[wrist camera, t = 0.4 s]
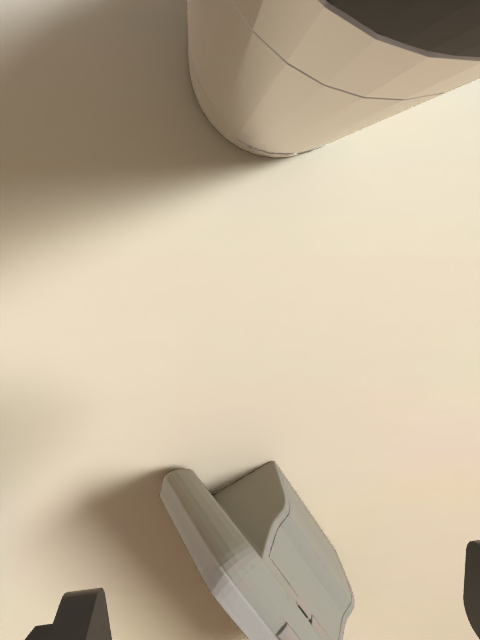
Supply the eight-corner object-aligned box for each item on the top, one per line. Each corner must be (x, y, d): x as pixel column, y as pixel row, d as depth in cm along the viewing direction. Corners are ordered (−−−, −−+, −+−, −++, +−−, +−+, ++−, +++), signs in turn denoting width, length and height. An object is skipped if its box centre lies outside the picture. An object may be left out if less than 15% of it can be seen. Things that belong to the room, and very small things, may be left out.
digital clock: (151, 461, 28) (127, 611, 18) (284, 411, 28) (337, 531, 18) (237, 639, 32) (259, 841, 22) (352, 596, 33) (425, 777, 22)
